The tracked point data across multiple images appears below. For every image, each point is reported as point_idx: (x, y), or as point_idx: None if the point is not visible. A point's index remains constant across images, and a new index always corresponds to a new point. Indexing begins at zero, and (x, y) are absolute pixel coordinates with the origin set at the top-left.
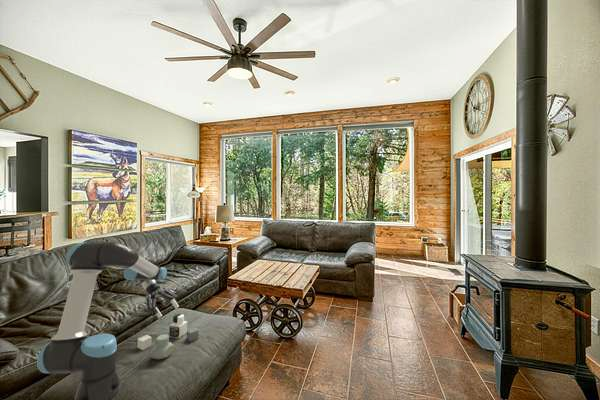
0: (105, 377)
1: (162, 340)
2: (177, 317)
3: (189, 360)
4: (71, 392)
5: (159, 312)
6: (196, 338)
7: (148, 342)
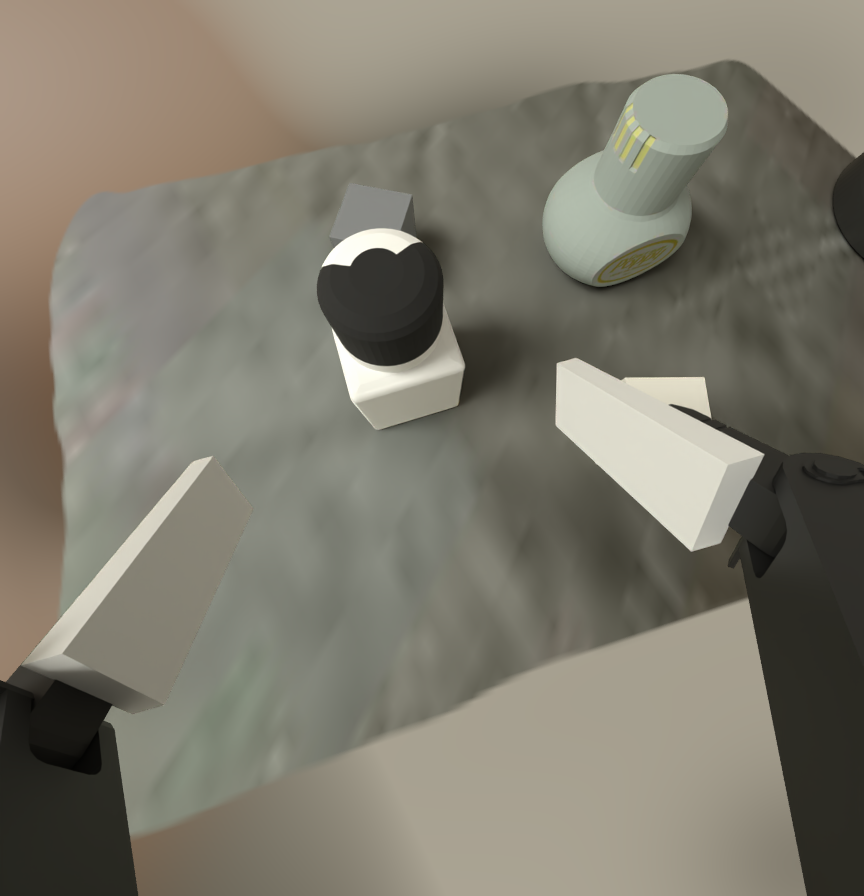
0: None
1: (694, 83)
2: (416, 244)
3: (525, 115)
4: None
5: (614, 382)
6: None
7: None
